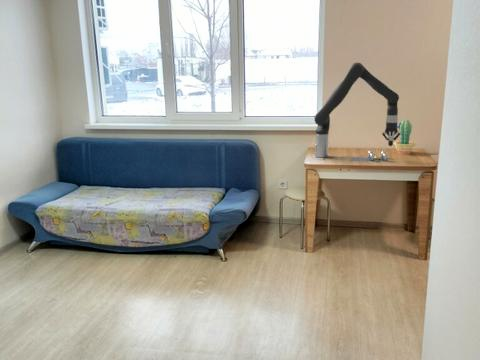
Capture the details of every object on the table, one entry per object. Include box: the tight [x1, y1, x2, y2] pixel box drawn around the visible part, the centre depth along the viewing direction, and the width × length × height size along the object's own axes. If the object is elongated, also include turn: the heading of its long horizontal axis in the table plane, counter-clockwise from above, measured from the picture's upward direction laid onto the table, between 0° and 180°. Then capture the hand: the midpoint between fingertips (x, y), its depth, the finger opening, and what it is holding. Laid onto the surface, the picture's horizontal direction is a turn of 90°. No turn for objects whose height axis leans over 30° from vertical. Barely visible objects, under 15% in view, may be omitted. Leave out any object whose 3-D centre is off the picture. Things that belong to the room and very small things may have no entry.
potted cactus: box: [393, 119, 416, 155], centre depth 334 cm, size 16×15×25 cm
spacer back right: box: [380, 150, 387, 159], centre depth 321 cm, size 3×3×5 cm
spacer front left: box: [369, 152, 375, 162], centre depth 314 cm, size 3×3×5 cm
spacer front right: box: [382, 152, 389, 162], centre depth 313 cm, size 3×3×5 cm
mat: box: [349, 156, 388, 162], centre depth 319 cm, size 25×12×1 cm, turn 81°
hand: (390, 145), depth 314 cm, fingers closed
